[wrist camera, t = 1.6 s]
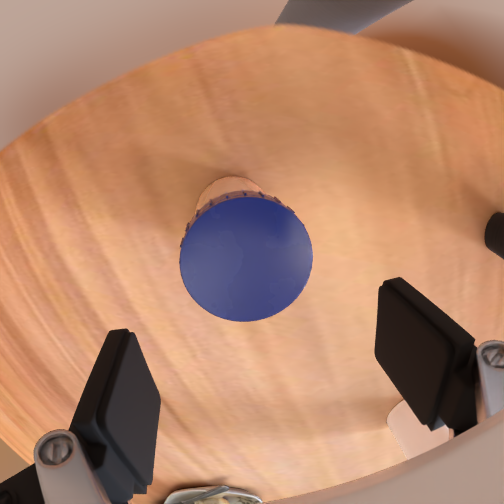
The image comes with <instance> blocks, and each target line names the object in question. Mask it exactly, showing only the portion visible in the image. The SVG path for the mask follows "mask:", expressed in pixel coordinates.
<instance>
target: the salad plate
mask: <svg viewBox="0 0 504 504" xmlns="http://www.w3.org/2000/svg"><path fill="white" fill-rule="evenodd" d="M257 503H262V500H261V499H260V498H259V497H258V496H256V495H254V494H251V493H249V492H248V491H246V490H243V489H238V488H229V487H228V486H226V485H219V486H206V487H197V488H190V489H182V490H176V491H174V492H173V493H171V494H170V495H169V496H168V497H167V499H166V501H165V503H163V504H257Z"/></svg>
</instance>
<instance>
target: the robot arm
mask: <svg viewBox="0 0 504 504" xmlns="http://www.w3.org/2000/svg"><path fill="white" fill-rule="evenodd" d="M474 342H475V339H474V338H473V337H472V336H471V335H470V334H469V333H468V332H467V331H465V330H464V329H463V328H462V327H461V326H460V325H458V324H457V323H456V322H455V321H454V320H453V319H451V318H450V317H449V316H448V315H447V314H445V313H444V312H443V311H442V310H441V309H440V308H438V307H437V306H436V305H435V304H434V303H432V302H431V301H430V300H429V299H427V298H426V297H425V296H424V295H423V294H421V293H420V292H419V291H418V290H416V289H415V288H414V287H413V286H411V285H410V284H409V283H408V282H406V281H405V280H404V279H403V278H401V277H397V278H393V279H389V280H385V281H384V282H383V285H382V286H380V287H379V292H378V311H377V326H376V339H375V357H376V359H377V361H378V363H379V364H380V365H381V367H382V368H383V370H384V371H385V372H386V374H387V375H388V377H389V378H390V379H391V381H392V382H393V384H394V385H395V387H396V388H397V389H398V391H399V392H400V394H401V395H402V397H403V398H404V400H405V401H406V402H407V404H408V405H409V407H410V408H411V410H412V411H413V413H414V414H415V416H416V417H417V419H418V420H419V421H420V423H421V424H422V425H427V426H428V428H429V429H430V431H431V432H432V431H434V430H436V429H438V428H440V427H442V426H444V425H446V426H447V428H449V441H447V442H445V443H443V444H441V445H439V446H437V447H435V448H433V449H431V450H429V451H427V452H424V453H422V454H420V455H418V456H416V457H413V458H411V459H409V460H407V461H404V462H402V463H399V464H397V465H395V466H392V467H389V468H387V469H384V470H382V471H379V472H376V473H374V474H371V475H368V476H365V477H362V478H359V479H356V480H353V481H350V482H347V483H344V484H340V485H337V486H334V487H330V488H327V489H323V490H319V491H315V492H311V493H307V494H303V495H299V496H294V497H290V498H285V499H280V500H274V501H269V502H263V503H257V504H504V342H503V341H498V340H490V341H486V342H484V343H482V344H481V345H480V346H479V347H478V348H477V347H476V346H475V345H474ZM160 405H161V399H160V394H159V391H158V389H157V387H156V385H155V382H154V380H153V378H152V375H151V373H150V370H149V368H148V366H147V363H146V361H145V358H144V356H143V353H142V351H141V348H140V345H139V343H138V340H137V338H136V335H135V334H134V333H133V332H129V330H128V329H118V330H111V331H109V333H108V335H107V337H106V339H105V342H104V344H103V346H102V348H101V351H100V353H99V355H98V357H97V360H96V362H95V364H94V367H93V369H92V372H91V374H90V376H89V379H88V381H87V383H86V386H85V388H84V391H83V393H82V396H81V398H80V401H79V404H78V406H77V409H76V411H75V414H74V417H73V419H72V422H71V425H70V428H69V430H65V429H57V430H53V431H50V432H48V433H46V434H45V435H43V436H42V437H41V438H40V439H39V440H38V442H37V443H36V445H35V448H34V461H35V463H34V464H32V465H31V466H29V467H27V468H26V469H24V470H22V471H21V472H19V473H17V474H16V475H14V476H12V477H11V478H9V479H7V480H5V481H4V482H2V483H0V504H132V503H131V501H130V499H132V498H133V494H146V493H147V485H151V484H152V480H153V468H154V458H155V448H156V438H157V429H158V421H159V413H160Z"/></svg>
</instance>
